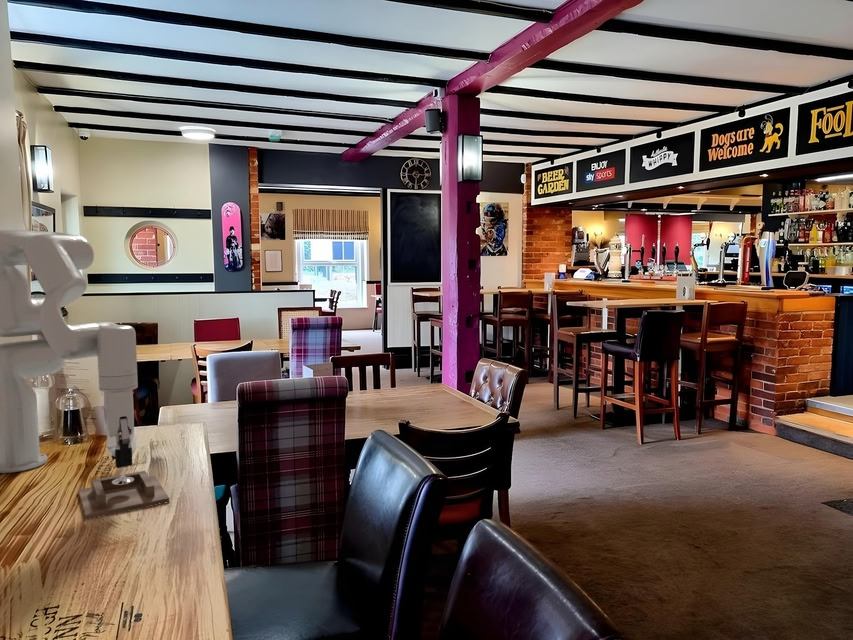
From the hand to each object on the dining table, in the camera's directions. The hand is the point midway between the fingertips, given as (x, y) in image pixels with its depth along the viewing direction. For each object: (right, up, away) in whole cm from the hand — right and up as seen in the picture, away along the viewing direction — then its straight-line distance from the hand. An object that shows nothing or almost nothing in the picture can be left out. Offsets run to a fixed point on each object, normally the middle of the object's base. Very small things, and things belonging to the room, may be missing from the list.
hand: (121, 461), depth 132 cm
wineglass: (0, -5, +1) cm, 5 cm away
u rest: (0, -8, +1) cm, 8 cm away
